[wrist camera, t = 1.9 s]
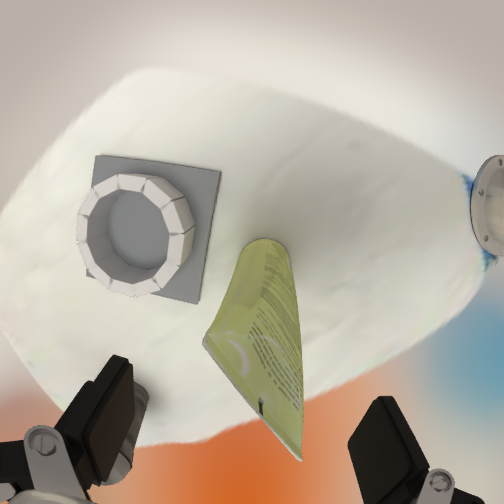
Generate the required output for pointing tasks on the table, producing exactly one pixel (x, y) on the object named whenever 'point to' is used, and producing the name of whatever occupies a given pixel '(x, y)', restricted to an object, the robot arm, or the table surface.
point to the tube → (263, 340)
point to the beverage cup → (129, 439)
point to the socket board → (147, 227)
